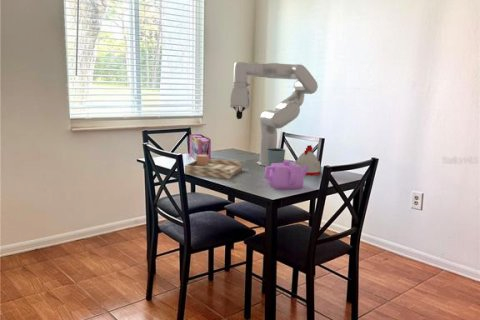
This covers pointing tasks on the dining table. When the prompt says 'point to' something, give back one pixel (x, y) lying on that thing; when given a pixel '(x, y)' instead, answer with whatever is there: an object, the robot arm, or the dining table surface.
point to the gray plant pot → (275, 155)
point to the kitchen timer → (309, 161)
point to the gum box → (199, 146)
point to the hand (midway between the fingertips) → (239, 118)
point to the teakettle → (285, 175)
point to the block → (202, 160)
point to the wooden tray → (214, 168)
